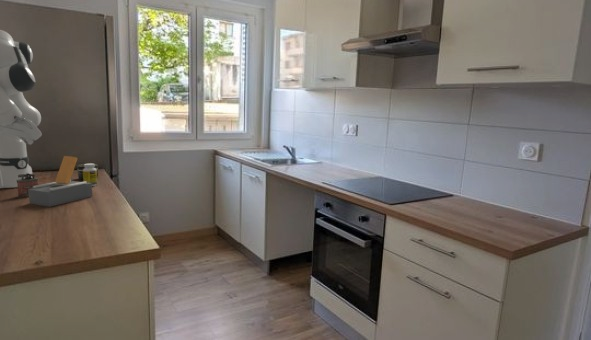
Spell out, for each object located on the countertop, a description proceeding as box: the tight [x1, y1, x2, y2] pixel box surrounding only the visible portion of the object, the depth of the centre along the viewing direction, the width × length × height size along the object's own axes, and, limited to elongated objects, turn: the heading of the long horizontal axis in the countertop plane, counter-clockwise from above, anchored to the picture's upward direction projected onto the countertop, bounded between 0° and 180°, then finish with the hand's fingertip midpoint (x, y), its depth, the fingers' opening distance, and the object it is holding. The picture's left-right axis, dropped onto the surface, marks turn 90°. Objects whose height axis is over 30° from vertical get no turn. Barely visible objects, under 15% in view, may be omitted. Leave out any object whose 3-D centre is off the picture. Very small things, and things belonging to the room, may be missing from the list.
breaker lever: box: [54, 155, 78, 185], centre depth 167 cm, size 6×2×12 cm, turn 68°
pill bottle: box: [82, 162, 98, 187], centre depth 194 cm, size 6×6×11 cm
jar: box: [76, 163, 99, 181], centre depth 211 cm, size 10×10×8 cm
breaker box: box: [28, 179, 93, 208], centre depth 165 cm, size 12×20×7 cm, turn 158°
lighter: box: [16, 173, 39, 198], centre depth 172 cm, size 8×3×10 cm, turn 135°
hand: (29, 143), depth 151 cm, fingers closed
